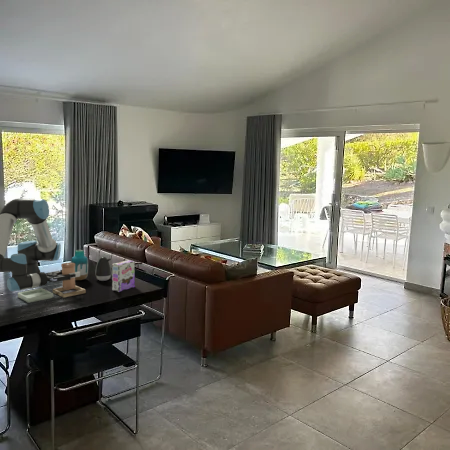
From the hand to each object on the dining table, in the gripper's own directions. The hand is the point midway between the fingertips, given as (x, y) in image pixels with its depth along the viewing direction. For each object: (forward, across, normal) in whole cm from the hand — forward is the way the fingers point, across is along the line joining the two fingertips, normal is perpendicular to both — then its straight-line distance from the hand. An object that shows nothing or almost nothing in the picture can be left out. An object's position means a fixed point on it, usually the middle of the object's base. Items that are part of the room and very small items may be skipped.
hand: (76, 272), depth 265 cm
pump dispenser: (+25, -12, -12) cm, 30 cm away
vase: (+13, -22, -12) cm, 28 cm away
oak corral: (-5, 0, -11) cm, 12 cm away
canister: (-5, 0, -8) cm, 9 cm away
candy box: (+23, +14, -12) cm, 29 cm away
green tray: (-23, -4, -11) cm, 26 cm away
